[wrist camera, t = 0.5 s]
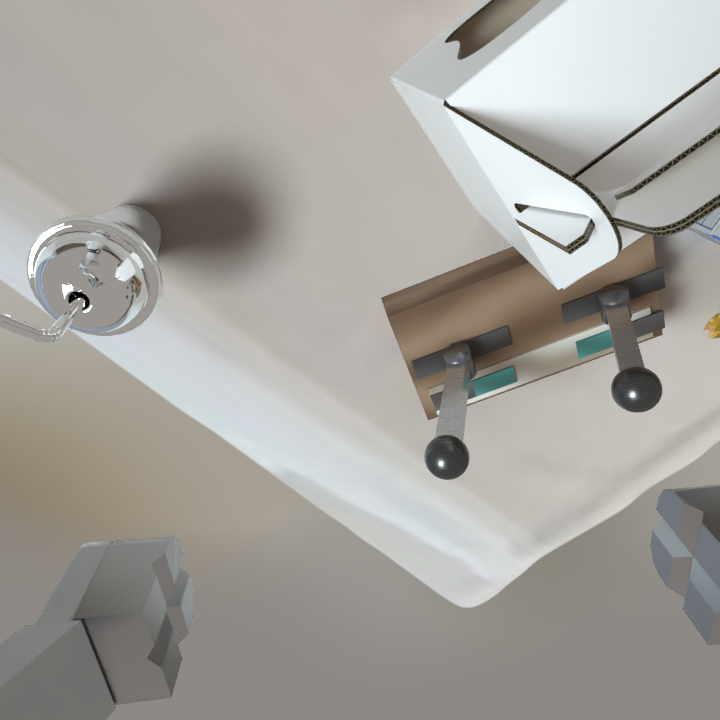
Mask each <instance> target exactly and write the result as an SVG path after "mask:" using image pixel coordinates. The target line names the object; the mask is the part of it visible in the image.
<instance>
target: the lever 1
mask: <svg viewBox="0 0 720 720" xmlns="http://www.w3.org/2000/svg"><path fill="white" fill-rule="evenodd" d="M443 358H444V361H445V363H446V366H447V370H446V376H445V382H444V388H443V394H442V400H441V406H440V412H439V418H438V424H437V430H436V436H435V438H434V439H433V440H432V441H431V442H430V443H429V444H428V446H427V448H426V451H425V463H426V466H427V468H428V469H429V471H430V472H431V473H432V474H433V475H434V476H436V477H438V478H440V479H444V480H451V479H455V478H457V477H459V476H461V475H462V474H463V473H464V472H465V471H466V469H467V467H468V464H469V451H468V449H467V447H466V445H465V444H464V443H463V438H464V429H465V420H466V411H467V401H468V392H469V383H470V380H471V379H473V378H474V377H475V376H476V374H477V369H476V366H475V363H474V360H473V357H472V353H471V350H470V347H469V345H468V344H466V343H455V344H452V345H450V346H448V347H447V348H446V349H445V350H444V351H443Z"/></svg>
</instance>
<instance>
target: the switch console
mask: <svg viewBox="0 0 720 720" xmlns="http://www.w3.org/2000/svg"><path fill="white" fill-rule="evenodd" d="M616 284H618V285H624V286H626V287H628V289H629V297H630V304H631V312H632V318H631V321H632V325H633V328H634V332H635V335H636V339H637V342H638V343H641V342H644V341H647V340H649V339H652V338H655V337H658V336H660V335H663V334H662V328H665V322H664V312H663V310H660V303H659V293H658V290H659V289H662V288H665V282H664V271H663V267H660V268H657V269H656V262H655V252H654V242H653V236H652V235H648V234H645V235H643V236H642V237H640V238H639V239H637V240H636V241H634V242H633V243H632V244H630V245H629V246H627V247H626V248H624V249H623V250H621V252H620V254H619V255H618V256H617V257H615V258H614V259H613V260H611V261H609V262H607V263H606V264H604V265H602V266H600V267H599V268H597V269H595V270H593V271H591V272H590V273H588V274H586V275H585V276H583V277H582V278H580V279H579V280H577V281H576V282H574V283H573V284H571V285H570V286H568V287H567V288H565V289H564V290H558V289H557V288H555V287H554V286H553V285H552V284H551V283H550V282H549V281H548V280H547V279H546V278H545V277H544V276H543V275H542V274H541V273H540V272H539V271H538V270H537V269H536V268H535V267H534V266H533V265H532V264H531V263H530V262H529V261H528V260H527V259H526V258H525V257H524V256H523V255H521V254H520V253H519V252H518V251H517V250H516V249H515V248H514V247H511V248H508V249H506V250H503V251H501V252H498V253H496V254H493V255H491V256H488V257H485V258H483V259H480V260H478V261H475V262H473V263H470V264H467V265H465V266H462V267H460V268H457V269H455V270H452V271H450V272H447V273H444V274H442V275H439V276H437V277H434V278H432V279H429V280H426V281H424V282H421V283H419V284H416V285H414V286H411V287H409V288H406V289H403V290H401V291H398V292H396V293H393V294H391V295H388V296H385V297H383V298H381V299H382V302H383V305H384V308H385V311H386V313H387V316H388V319H389V322H390V324H391V327H392V329H393V332H394V334H395V337H396V339H397V342H398V344H399V347H400V350H401V352H402V355H403V357H404V360H405V362H406V365H407V367H408V370H409V372H410V375H411V377H412V380H413V383H414V385H415V388H416V390H417V393H418V395H419V398H420V400H421V403H422V405H423V408H424V410H425V413H426V415H427V418H428V420H430V419H433V418H436V417H438V416H439V412H440V406H441V400H442V394H443V388H444V382H445V376H446V370H447V366H446V363H445V361H444V358H443V351H444V350H445V349H446V348H447V347H448V346H450V345H452V344H455V343H466V344H468V345H469V347H470V350H471V353H472V357H473V360H474V363H475V366H476V369H477V374H476V376H475V377H474V378H473V379H471V380H470V383H469V392H468V401H467V406H469V405H471V404H474V403H477V402H480V401H482V400H485V399H488V398H490V397H493V396H496V395H499V394H501V393H504V392H507V391H510V390H512V389H515V388H518V387H521V386H523V385H526V384H529V383H532V382H534V381H537V380H540V379H542V378H545V377H548V376H551V375H553V374H556V373H559V372H562V371H564V370H567V369H570V368H573V367H575V366H578V365H581V364H584V363H586V362H589V361H592V360H595V359H597V358H600V357H603V356H605V355H608V354H611V353H614V348H613V343H612V339H611V335H610V330H609V326H608V325H607V324H605V323H603V322H602V318H601V312H600V306H599V300H598V292H599V291H600V290H601V289H602V288H604V287H606V286H609V285H616Z"/></svg>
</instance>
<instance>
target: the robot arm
mask: <svg viewBox="0 0 720 720" xmlns="http://www.w3.org/2000/svg"><path fill="white" fill-rule="evenodd" d="M656 509H657V511H658V512H659V514H660V515H661V516H662V518H663V519H662V521H661V522H660V523H659V524H658V525H657V526H656V527H655V528H654V529H653V530H652V537H651V545H650V547H651V552H652V558H653V563H654V565H655V567H656V569H657V572H658V574H659V576H660V577H661V579H662V580H663V582H664V583H665V585H666V586H667V587H668V588H670V589H671V590H673V591H675V592H676V593H678V594H680V595H682V596H683V597H684V604H683V610H684V612H685V613H686V615H687V616H688V618H689V619H690V620H691V622H692V623H693V625H694V626H695V627H696V629H697V630H698V632H699V633H700V634H701V636H702V637H703V639H704V640H705V642H706V643H707V644H708V645H713V644H720V484H716V485H707V486H697V487H687V488H678V489H667V490H663V491H662V493H661V494H660V496H659V498H658V502H657V508H656ZM183 556H184V553H183V550H182V546H181V543H180V540H179V539H178V538H176V537H174V536H170V537H156V538H143V539H128V540H116V541H107V542H94V543H85V544H84V545H82V546H81V547H80V548H78V550H77V551H76V553H75V555H74V556H73V558H72V560H71V562H70V564H69V565H68V567H67V569H66V571H65V572H64V574H63V576H62V577H61V580H60V581H59V583H58V585H57V586H56V588H55V590H54V591H53V593H52V595H51V597H50V598H49V600H48V602H47V604H46V605H45V607H44V609H43V611H42V612H41V614H40V616H39V618H38V619H37V621H36V623H35V624H34V625H25V626H24V627H22V628H21V629H19V631H17V632H16V633H14V634H13V635H12V636H10V637H9V638H8V639H6V640H5V641H4V642H2V643H1V644H0V720H107V718H108V717H109V716H110V715H111V714H112V712H113V711H114V710H115V708H116V707H115V705H118V704H126V703H133V702H140V701H149V700H156V699H165V698H171V697H172V693H173V689H174V686H175V683H176V679H177V675H178V672H179V668H180V664H181V661H182V656H181V653H180V649H179V646H178V644H179V643H180V642H181V641H182V640H183V639H184V638H185V637H186V636H187V635H188V634H189V630H190V626H191V622H192V618H193V605H194V597H193V586H192V582H191V578H190V575H189V574H188V573H187V572H186V571H184V570H183V569H182V568H181V567H180V566H181V562H182V559H183Z"/></svg>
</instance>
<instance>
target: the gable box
mask: <svg viewBox="0 0 720 720" xmlns="http://www.w3.org/2000/svg"><path fill="white" fill-rule="evenodd" d="M710 74H712V75H711V76H710V77H708V78H707V79H706V80H704V81H703V82H702V83H700V84H699V85H697V86H696V87H695V88H693V89H692V90H691V91H689V92H688V93H687V94H685V95H684V96H682V97H681V98H680V99H678V100H677V101H676V102H674V103H673V104H671V105H670V106H669V107H667V108H666V109H665V110H663V111H662V112H661V113H659V114H658V115H656V116H655V117H654V118H652V119H651V120H650V121H648V122H647V123H646V124H644V125H643V126H641V127H640V128H639V129H637V130H636V131H635V132H633V133H632V134H630V135H629V136H628V137H626V138H625V139H624V140H622V141H621V142H620V143H618V144H617V145H615V146H614V147H613V148H611V149H610V150H609V151H607V152H606V153H605V154H603V155H602V156H600V157H599V158H598V159H596V160H595V161H594V162H592V163H591V164H589V165H588V166H587V167H585V168H584V169H583V170H581V171H580V172H579V173H577V174H576V175H574V176H573V177H572V175H573V174H575V173H576V172H577V171H579V170H580V169H581V168H583V167H584V166H585V165H587V164H588V163H590V162H591V161H592V160H594V159H595V158H596V157H598V156H599V155H600V154H602V153H603V152H605V151H606V150H607V149H609V148H610V147H611V146H613V145H614V144H615V143H617V142H618V141H620V140H621V139H622V138H624V137H625V136H626V135H628V134H629V133H631V132H632V131H633V130H635V129H636V128H637V127H639V126H640V125H641V124H643V123H644V122H646V121H647V120H648V119H650V118H651V117H652V116H654V115H655V114H656V113H658V112H659V111H661V110H662V109H663V108H665V107H666V106H667V105H669V104H670V103H671V102H673V101H674V100H676V99H677V98H678V97H680V96H681V95H682V94H684V93H685V92H686V91H688V90H689V89H691V88H692V87H693V86H695V85H696V84H697V83H699V82H700V81H702V80H703V79H704V78H706V77H707V76H708V75H710ZM391 81H392V83H393V84H394V86H395V88H396V89H397V91H398V92H399V94H400V95H401V97H402V98H403V100H404V101H405V103H406V104H407V106H408V107H409V109H410V110H411V112H412V113H413V115H414V116H415V118H416V119H417V121H418V123H419V124H420V126H421V127H422V129H423V130H424V132H425V133H426V135H427V136H428V138H429V139H430V141H431V142H432V144H433V145H434V147H435V148H436V150H437V151H438V153H439V154H440V156H441V157H442V159H443V161H444V162H445V164H446V165H447V167H448V168H449V170H450V171H451V173H452V174H453V176H454V177H455V179H456V180H457V182H458V183H459V185H460V186H461V188H462V189H463V191H464V192H465V194H466V195H467V197H468V199H469V200H470V202H471V203H472V205H473V206H474V208H475V209H476V211H477V212H478V213H479V214H480V215H481V216H482V217H483V218H484V219H485V220H486V221H487V222H489V223H490V224H491V225H492V226H493V227H494V228H495V229H496V230H497V231H498V232H499V233H500V234H501V235H502V236H503V237H504V238H505V239H506V240H507V241H508V242H509V243H510V244H511V245H512V246H513V247H514V248H515V249H516V250H517V251H518V252H519V253H520V254H521V255H523V256H524V257H525V258H526V259H527V260H528V261H529V262H530V263H531V264H532V265H533V266H534V267H535V268H536V269H537V270H538V271H539V272H540V273H541V274H542V275H543V276H544V277H545V278H546V279H547V280H548V281H549V282H550V283H551V284H552V285H553V286H554V287H555V288H557V289H558V290H564V289H565V288H567V287H568V286H570V285H571V284H573V283H574V282H576V281H577V280H579V279H580V278H582V277H583V276H585V275H586V274H588V273H590V272H591V271H593V270H595V269H597V268H599V267H600V266H602V265H604V264H606V263H607V262H609V261H611V260H613V259H614V258H615V257H617V256H618V255H619V254H620V252H621V250H623V249H624V248H626V247H627V246H629V245H630V244H632V243H633V242H634V241H636V240H637V239H639V238H640V237H642V236H643V235H645V234H648V235H652V236H667V235H672V234H675V233H678V232H681V231H683V230H685V229H687V228H689V227H690V226H692V225H693V224H695V223H696V222H698V221H699V220H701V219H702V218H704V217H705V216H707V215H708V214H710V213H711V212H713V211H714V210H716V209H717V208H719V207H720V0H479V1H478V2H477V3H475V4H474V5H473V6H472V7H471V8H469V9H468V10H467V11H466V12H465V13H464V14H462V15H461V16H460V17H459V18H458V19H457V20H455V21H454V22H453V23H452V24H451V25H450V26H448V27H447V28H446V29H445V30H444V31H443V32H441V33H440V34H439V35H438V36H437V37H436V38H434V39H433V40H432V41H431V42H430V43H428V44H427V45H426V46H425V47H424V48H423V49H421V50H420V51H419V52H418V53H417V54H416V55H414V56H413V57H412V58H411V59H410V60H409V61H407V62H406V63H405V64H404V65H403V66H402V67H400V68H399V69H398V70H397V71H396V72H395V73H393V74H392V75H391Z"/></svg>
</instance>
